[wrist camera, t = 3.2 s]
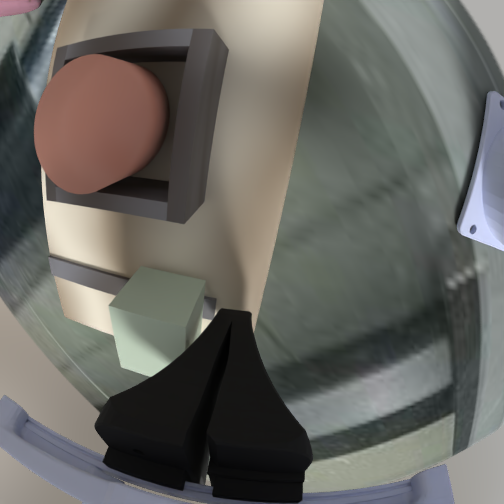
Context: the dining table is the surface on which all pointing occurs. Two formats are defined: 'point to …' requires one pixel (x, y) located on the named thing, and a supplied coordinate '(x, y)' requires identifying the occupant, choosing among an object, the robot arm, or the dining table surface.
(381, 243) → the dining table surface
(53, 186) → the control board
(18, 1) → the video game controller
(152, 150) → the pink round button
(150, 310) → the pale green block
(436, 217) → the dining table surface
